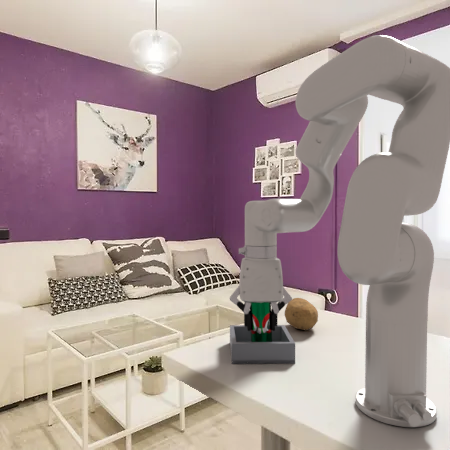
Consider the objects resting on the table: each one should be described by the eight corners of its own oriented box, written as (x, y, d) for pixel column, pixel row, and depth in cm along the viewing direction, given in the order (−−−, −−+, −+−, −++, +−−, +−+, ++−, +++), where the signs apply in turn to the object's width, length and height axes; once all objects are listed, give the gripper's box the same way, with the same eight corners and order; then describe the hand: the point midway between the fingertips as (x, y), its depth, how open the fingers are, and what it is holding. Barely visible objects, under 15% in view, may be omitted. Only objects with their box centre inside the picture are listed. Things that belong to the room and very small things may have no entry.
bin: (295, 363, 86) (295, 343, 86) (231, 364, 86) (231, 343, 86) (284, 342, 100) (284, 325, 100) (229, 342, 100) (229, 325, 100)
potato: (288, 336, 105) (288, 306, 105) (281, 321, 119) (281, 295, 119) (324, 336, 105) (324, 306, 105) (313, 321, 119) (313, 295, 119)
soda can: (272, 342, 95) (270, 293, 95) (272, 349, 90) (270, 298, 90) (251, 342, 96) (249, 293, 95) (250, 350, 91) (248, 298, 90)
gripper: (224, 254, 88) (225, 334, 89) (299, 254, 89) (299, 333, 89) (224, 251, 96) (224, 325, 96) (293, 251, 96) (293, 324, 97)
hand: (260, 328), depth 93 cm, fingers closed on soda can, 5 cm apart
